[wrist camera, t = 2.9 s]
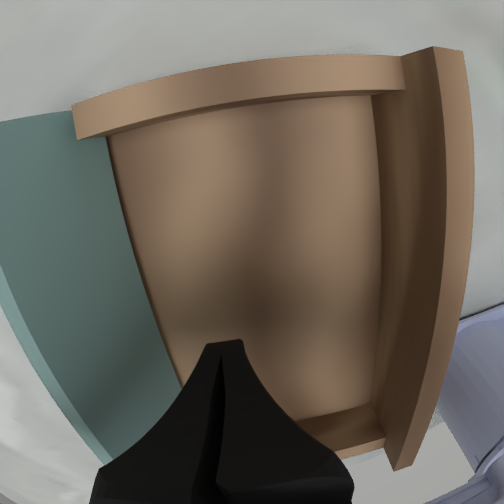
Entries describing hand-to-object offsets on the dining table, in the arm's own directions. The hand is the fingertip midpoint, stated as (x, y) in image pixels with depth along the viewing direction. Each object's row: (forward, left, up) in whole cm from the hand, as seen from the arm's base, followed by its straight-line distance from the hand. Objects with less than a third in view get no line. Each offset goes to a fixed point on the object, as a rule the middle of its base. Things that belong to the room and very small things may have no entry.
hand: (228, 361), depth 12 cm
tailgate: (+4, 0, -3) cm, 5 cm away
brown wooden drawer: (-2, 0, -5) cm, 5 cm away
